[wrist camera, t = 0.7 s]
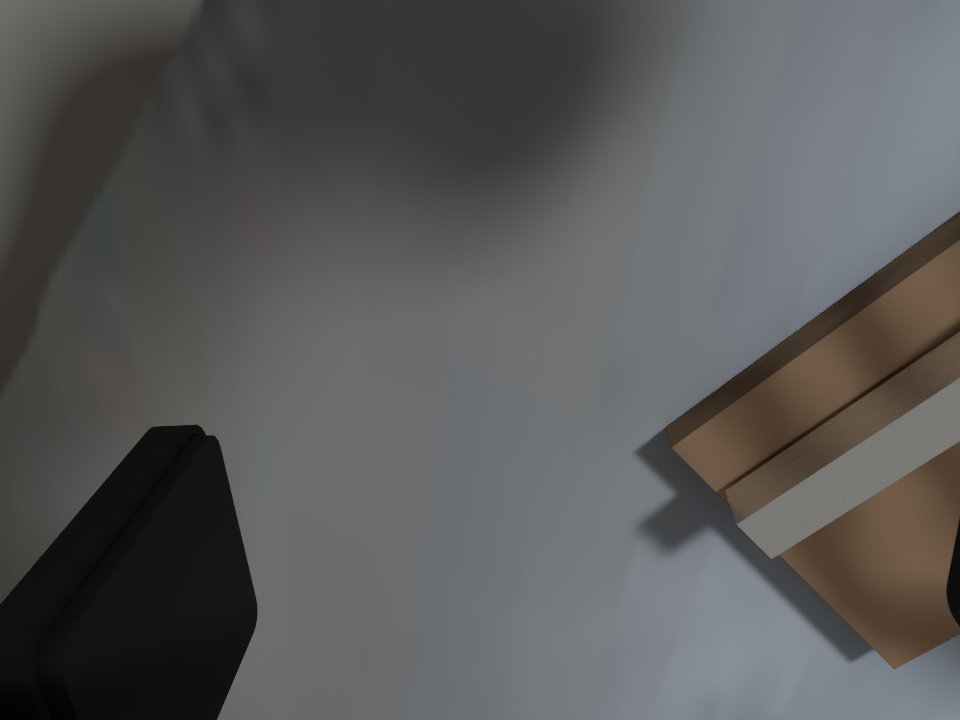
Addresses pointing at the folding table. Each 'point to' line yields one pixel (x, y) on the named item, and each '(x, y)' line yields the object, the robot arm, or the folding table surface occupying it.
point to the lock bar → (853, 454)
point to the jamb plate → (821, 396)
